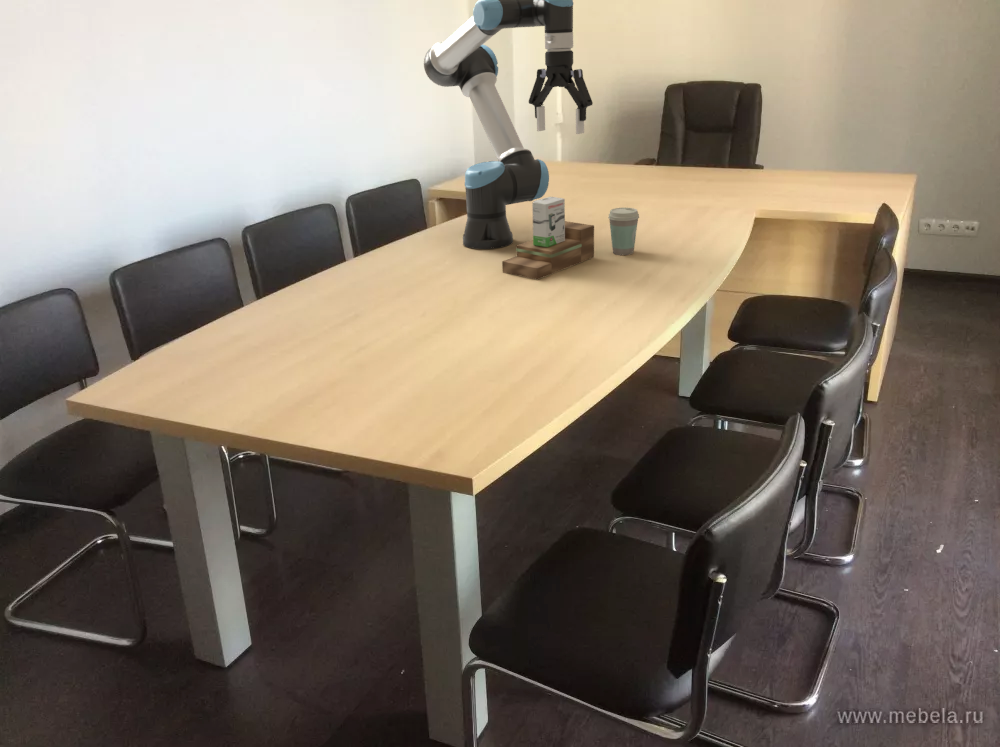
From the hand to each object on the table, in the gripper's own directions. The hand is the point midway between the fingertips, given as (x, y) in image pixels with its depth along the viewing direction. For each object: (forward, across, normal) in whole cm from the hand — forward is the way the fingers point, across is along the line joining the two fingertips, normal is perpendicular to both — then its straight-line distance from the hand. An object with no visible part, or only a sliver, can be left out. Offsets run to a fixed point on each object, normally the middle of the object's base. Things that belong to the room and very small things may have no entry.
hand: (560, 132), depth 233 cm
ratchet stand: (+33, +8, -16) cm, 37 cm away
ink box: (+27, +8, -16) cm, 32 cm away
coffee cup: (+33, +18, +5) cm, 38 cm away
